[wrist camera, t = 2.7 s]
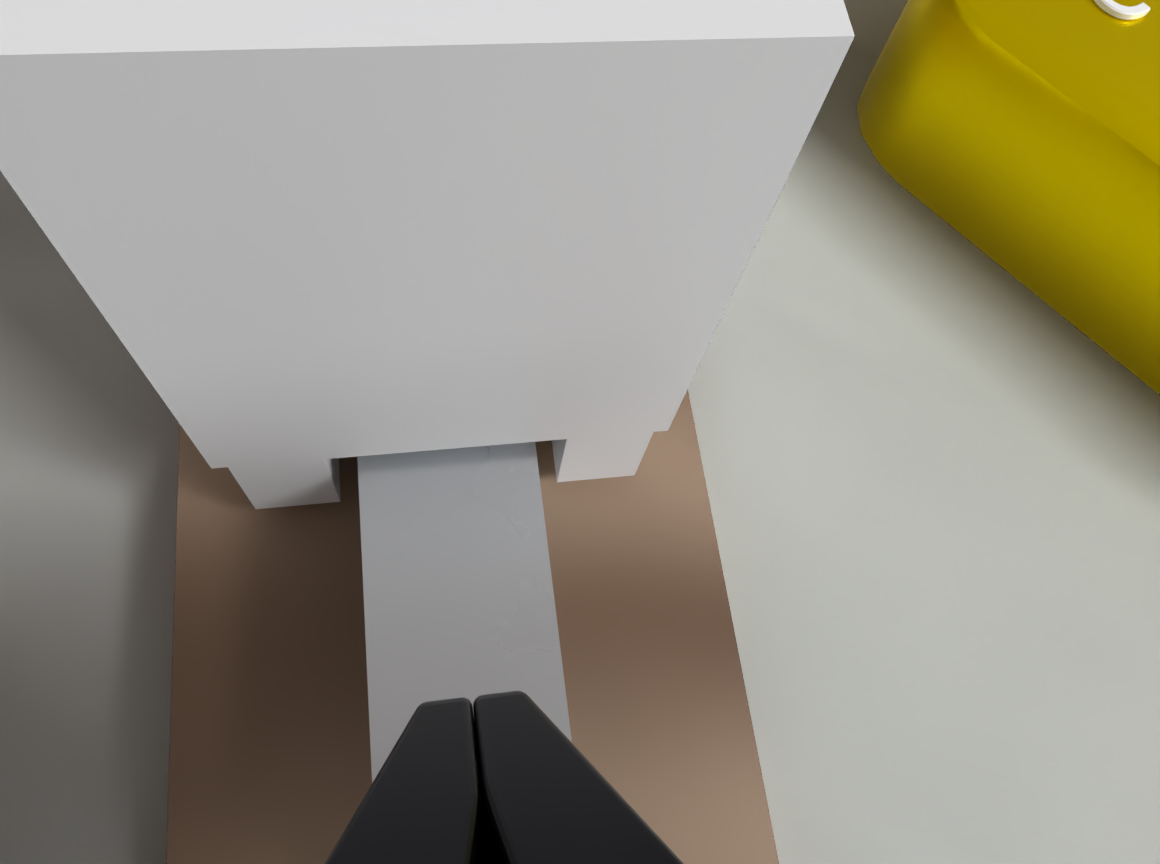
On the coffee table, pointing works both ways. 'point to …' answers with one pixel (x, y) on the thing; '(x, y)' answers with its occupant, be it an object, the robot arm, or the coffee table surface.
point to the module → (410, 209)
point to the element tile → (1037, 149)
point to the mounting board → (339, 667)
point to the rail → (455, 584)
